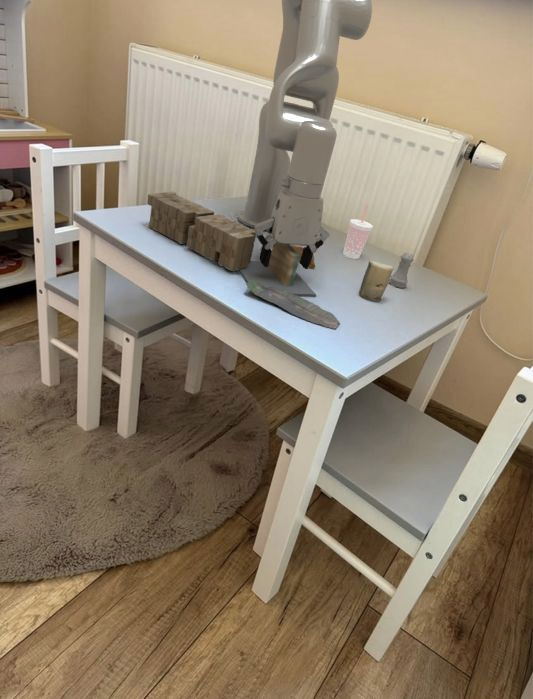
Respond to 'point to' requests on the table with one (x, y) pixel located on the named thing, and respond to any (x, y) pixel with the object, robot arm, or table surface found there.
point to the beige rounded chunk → (375, 280)
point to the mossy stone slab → (294, 304)
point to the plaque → (284, 263)
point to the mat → (274, 279)
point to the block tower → (202, 230)
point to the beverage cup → (357, 237)
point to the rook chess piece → (402, 271)
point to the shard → (299, 251)
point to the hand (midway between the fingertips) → (284, 265)
